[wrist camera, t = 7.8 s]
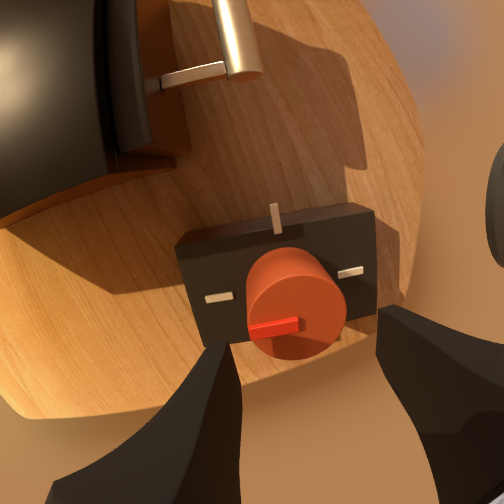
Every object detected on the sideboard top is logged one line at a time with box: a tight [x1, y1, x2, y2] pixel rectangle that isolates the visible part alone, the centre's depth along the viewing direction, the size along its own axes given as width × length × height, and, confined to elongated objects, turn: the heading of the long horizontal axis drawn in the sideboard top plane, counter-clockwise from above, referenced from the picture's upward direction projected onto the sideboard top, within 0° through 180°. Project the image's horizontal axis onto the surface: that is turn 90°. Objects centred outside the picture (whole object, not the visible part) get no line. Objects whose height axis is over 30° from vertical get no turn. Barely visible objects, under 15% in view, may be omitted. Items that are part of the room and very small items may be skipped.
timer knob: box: [246, 247, 347, 360], centre depth 12 cm, size 4×4×4 cm
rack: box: [103, 0, 264, 157], centre depth 9 cm, size 18×11×7 cm, turn 100°
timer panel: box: [174, 202, 377, 347], centre depth 15 cm, size 10×8×3 cm
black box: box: [0, 0, 176, 229], centre depth 9 cm, size 16×13×9 cm
